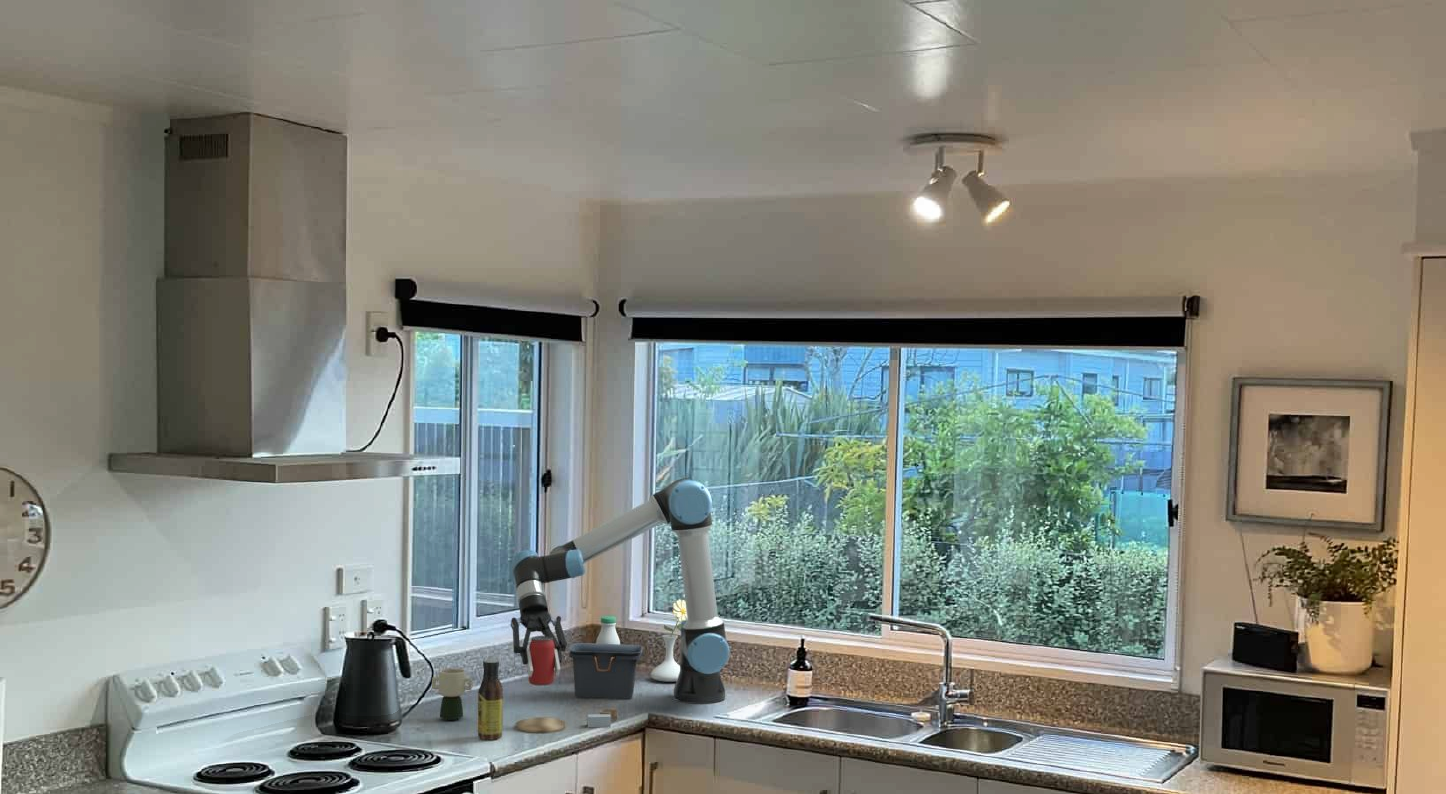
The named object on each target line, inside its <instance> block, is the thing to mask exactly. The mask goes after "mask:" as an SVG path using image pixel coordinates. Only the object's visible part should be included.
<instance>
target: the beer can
mask: <svg viewBox="0 0 1446 794" xmlns="http://www.w3.org/2000/svg"><path fill="white" fill-rule="evenodd" d="M552 639H553V638H552V637H548V636H545V635H537V636H532V637H531V641H530V644H529V647H528V648H529V649H528V650H530V654H531V660H532V666H533V673H532V676H531V677H529V676H528V682H529V684H530V685H533V686H549V685H552V684H553V683H554V682H555V668H554V652H555V646H554V642H553V640H552Z"/></svg>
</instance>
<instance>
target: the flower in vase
mask: <svg viewBox="0 0 1446 794" xmlns="http://www.w3.org/2000/svg"><path fill="white" fill-rule="evenodd" d="M671 610H672V615H673V616H674V618H675V619H676V622H675V625H674V628H673V627H668V626H666V625H665V624H664V625H663V629H664V630H665V631H669V632H671V633H670V634H663V635H661V637H662V639H663V641H664V643H665V659H664V660H663V661H662V662H661V663H660V664H659V665H658V666H656V667H655V668H654V669H653V670H652V671H651V673H650V676H651V678H652V679H653V680H655V681H659V682H667V683H668V682H671V683H672V682H677V679H678V676H679V673H680V664H679V663H677V662H676V661H675V659H674V646H675V643H676V640H677V639H678V635H677V634H673V633H674V632H675V631H676V628H677V630H679V631H680V628H681V623H682V621H683V620H686V619H688V618H687V610H686V602H685V599H682V600H681V599H678V600H676V602H674V603H673V604H672V609H671ZM678 622H680V623H678Z"/></svg>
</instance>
